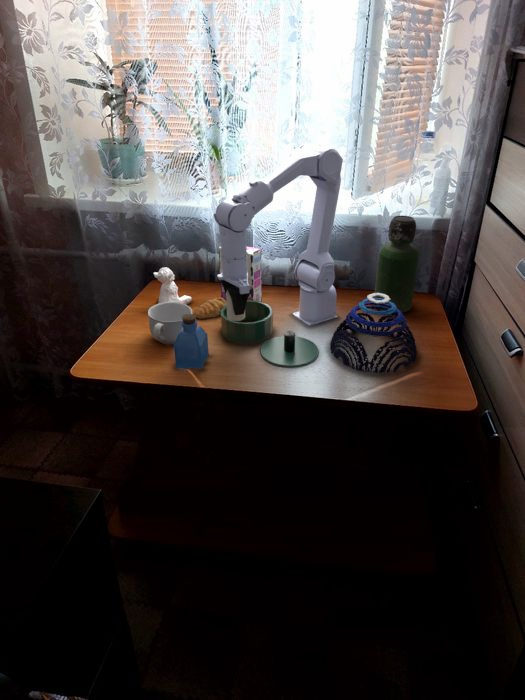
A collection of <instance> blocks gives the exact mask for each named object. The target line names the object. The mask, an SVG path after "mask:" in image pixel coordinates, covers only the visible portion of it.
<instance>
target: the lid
mask: <svg viewBox="0 0 525 700" xmlns="http://www.w3.org/2000/svg"><path fill="white" fill-rule="evenodd" d="M260 355H261V357H262V358H263V359H264V360H265V361H266V362H267V363H270V364H271V365H274V366H278V367H283V368H297V367H303V366H306V365H310V364H311V363H313V362H314V361H316V360H317V358H318V356H319V347H318V346H317V345H316V344H315V342H313V341H312V340H310V339H308V338H305V337H302V336H297V335H296V332H295V331H294V330H286V331H284V333H283V335H280V336H276V337H275V336H274V337H272V338H270V339H268V340H266V341H265V342H264V343H263V344H262V345H261V347H260Z"/></svg>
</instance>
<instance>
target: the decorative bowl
mask: <svg viewBox="0 0 525 700" xmlns="http://www.w3.org/2000/svg"><path fill="white" fill-rule="evenodd" d="M375 296H380V297H383V298H385V299H383V298H374V297H375ZM389 300H391V299H390V298H389V296H387V295H385V294H381V293H375V292H373V293H370V294H368V295H366V298H364V299H363V300H362V301H360V302H358V304H357V305H355V306H354V307H352V309H351V310H350V312H348V313H347V315H346V316H345V318H344V319H343V321H342V322H340V323H339V325H338V326H337V327H336V330H334V332H333V335H332V337H331V340H330V343H329V345H330V347H329V349H330V353H331V354H332V356H333V358H335V359H338V358H340V359H341V361H342V363H343V365H345V366H346V367H349V368H351V369H353V370H356V371H359V372H365V373H370V374H371V373H374V374H378V373H379V374H385V373H390V372H391V369H392V367H393V365H394V364H395V365H394V367H393V370H392V373H395V372H397V371H398V370H399V369H400V367H401V366H403V367H405V368H408V367H410V365H411V364H412V363H415V362H416V358H417V353H418V350H417V349H418V347H417V344H416V339H415V336H414V334H413V332H412V331H411V329H410V327H409V325H408V323H407V322H408V320H407V318H406V317H405V316H404V313H401V312H400V310H398V309H397V308H396V305H395V304H394V303H392V302H390V301H389ZM386 302H387V303H388V304H385V303H386ZM389 304H390V305H389ZM374 305H377V306H374ZM378 305H381V306H378ZM382 306H387V307H390V308H385V307H382ZM379 309H381V310H386V311H381V310H379ZM358 311H362V312H358ZM393 314H394V315H393ZM372 315H374V316H381V317H380V318H378V319H377V321H375V318H374V317H373V316H372ZM397 325H398V326H397ZM395 326H396V327H395ZM379 328H380V329H379ZM391 328H392V329H391ZM349 331H350V332H351V333H350V332H349ZM353 332H358V333H359V334H360V333H361V334H362V335H368V336H373V337H383V336H385V337H387V336H388V337H390V336H391V337H392V338H393V339H391V340H387V341H385V342H384V343H383V345H381V346H380V347H379V348H378V349H377V350H375V353H374V354H373V355H372V358H371V359H370V360H369V357H368V356H369V355H368V353H367V350H366V348H365V346H364V345H363V343H362V341H360V339H359V337H357V336H355V335H353V334H352V333H353ZM395 333H396V334H395ZM399 341H400V342H399ZM397 342H399V343H397ZM391 343H392V345H391ZM393 343H396V344H393ZM347 348H348V349H347ZM397 348H400V349H397ZM393 349H395V350H393ZM384 351H385V352H384ZM350 352H351V353H350ZM383 352H384V353H383ZM351 354H352V355H351ZM381 354H382V355H381ZM388 355H389V356H388ZM387 356H388V357H387ZM386 358H387V359H386ZM403 358H405V359H407V360H402V361H399V362H397V360H400V359H403ZM384 359H386V360H385V362H384ZM377 360H378V361H377ZM354 362H355V364H354ZM396 362H397V363H396ZM381 365H382V366H381Z"/></svg>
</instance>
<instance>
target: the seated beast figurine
mask: <svg viewBox="0 0 525 700" xmlns="http://www.w3.org/2000/svg"><path fill="white" fill-rule="evenodd" d="M153 275H154V278H156V279H157V281H158V282H160V283H161V286H160V287H159V288H160V289H159V298H158V303H157V304H159V303H164V302H177V303H182V304H185V305H187V306H188V305H190V304H191V302H192V301H193V298H192V297H191V296H189V295H186V294H184V295H182V296H180V297H179V294H178V293H179V292H178V290H179V287H178V286H177V284H176V283H175V281H174V280H175V279H176V278H175V277H176V275H175V274H174V272H173V271H172V269H170V268H169V267H165V266H164V267H161V268H160V269H159V270H158V272H156V271H154V272H153Z"/></svg>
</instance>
